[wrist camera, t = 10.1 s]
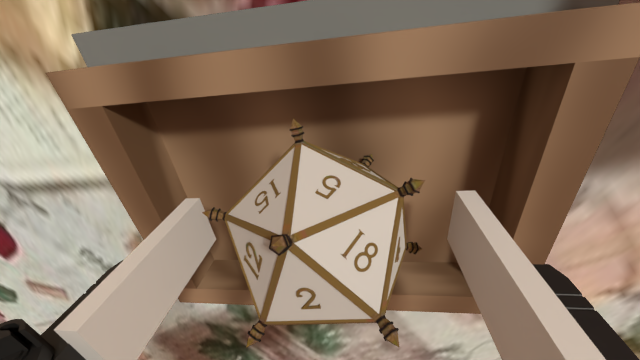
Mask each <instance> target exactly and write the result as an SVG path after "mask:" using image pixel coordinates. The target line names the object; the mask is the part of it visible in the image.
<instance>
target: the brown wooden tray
mask: <svg viewBox="0 0 640 360" xmlns="http://www.w3.org/2000/svg"><path fill="white" fill-rule="evenodd" d="M639 58H640V2H638V3H629V4H619V5H609V6H600V7H590V8H581V9H572V10H564V11H556V12H547V13H539V14H530V15H522V16H513V17H505V18H497V19H488V20H480V21H471V22H463V23H454V24H446V25H438V26H429V27H421V28H412V29H404V30H395V31H387V32H379V33H370V34H362V35H353V36H345V37H336V38H328V39H320V40H311V41H303V42H294V43H286V44H278V45H269V46H261V47H252V48H244V49H235V50H227V51H219V52H210V53H202V54H193V55H185V56H176V57H168V58H160V59H151V60H143V61H134V62H126V63H117V64H109V65H101V66H94V67H86V68H79V69H71V70H64V71H56V72H48V73H46V75H47V76H48V78H49V80H50V81H51V83H52V85H53V87H54V88H55V90H56V92H57V93H58V95H59V97H60V98H61V100H62V102H63V104H64V105H65V107H66V109H67V110H68V112H69V114H70V115H71V117H72V119H73V121H74V122H75V124H76V126H77V127H78V129H79V131H80V132H81V134H82V136H83V138H84V139H85V141H86V143H87V144H88V146H89V148H90V149H91V151H92V153H93V155H94V156H95V158H96V160H97V161H98V163H99V165H100V166H101V168H102V170H103V172H104V173H105V175H106V177H107V178H108V180H109V182H110V183H111V185H112V187H113V189H114V190H115V192H116V194H117V195H118V197H119V199H120V200H121V202H122V204H123V206H124V207H125V209H126V211H127V212H128V214H129V216H130V217H131V219H132V221H133V223H134V224H135V226H136V228H137V229H138V231H139V233H140V234H141V236H142V238H143V240H145V239H146V238H147V237H148V236H149V235H150V234H151V233H152V232H153V231H154V230H155V229H156V228H157V227H158V226H159V225H160V224H161V223H162V222H163V221H164V220H165V219H166V218H167V217H168V216H169V215H170V214H171V213H172V212H173V211H174V210H175V209H176V208H177V207H178V206H179V205H180V204H181V203H182V202H183V201H184V200H185V199H186V198H200V200H201V203H202V205H203V208H204V210H205V211H207V210H210V209H212V208H213V207H215V209H219V208H220V209H221V210H222V211H224V212H227V211H228V210H229V209H230V208H231V207H232V206H233V205H234V204H235V203H236V202H237V201H238V200H239V199H240V198H241V197H242V196H243V195H244V194H245V193H246V192H247V191H248V190H249V189H250V188H251V187H252V186H253V185H254V184H255V183H256V182H257V181H258V180H259V179H260V178H261V177H262V176H263V175H264V174H265V173H266V172H267V171H268V170H269V168H270V167H271V166H272V165H273V164H274V163H275V162H276V161H277V160H278V159H279V158H280V157H281V156H282V155H283V154H284V153H285V152H286V151H287V150H288V149H289V148H290V147H291V146H292V145H293V144H294V143H295V140H294V138H293V137H292V136H291V135H292V133H291V131H290V130H289V129H291V125H292V121H293V118H294V119H295V120H296V121H297V122H298V123H299V124H300V125H301V126H303V128H302V130H303V132H304V134H303V140H304V141H306V142H308V143H311V144H313V145H316V146H318V147H321V148H323V149H326V150H329V151H331V152H334V153H336V154H339V155H341V156H344V157H346V158H349V159H351V160H354V161H357V162H359V163H362V159H364V156H367V155H370V154H372V156H373V160H374V161H373V162H372V164H371V165H370V166H369V168H370V169H372V170H373V171H375V172H376V173H378V174H379V175H381V176H382V177H384V178H385V179H387V180H388V181H389V182H391V183H392V184H394V185H395V186H397V187H398V188H399V187H402V186H403V184H404V182H405V181H406V182H408V181H409V180H410V178H412V179H418V180H425V182H424V183H423V185H422V187H421V189H420V193H414V194H413V196H411V195H406V196H404V209H405V226H406V243H408V242H413V243H415V242H417V244H418V245H419V246H420V247H421V248H422V250H420V251H418V252H417V253H416V254H414V253H409V252H408V251H407V250H406V251H405V254H404V257H403V260H402V263H401V267H400V270H399V273H398V276H397V279H396V282H395V285H394V288H393V291H392V294H391V297H390V300H389V303H388V306H387V310H396V311H422V312H448V313H474V314H481V312H480V310H479V308H478V306H477V303H476V301H475V299H474V297H473V295H472V292H471V290H470V288H469V286H468V284H467V281H466V279H465V277H464V275H463V273H462V271H461V268H460V266H459V264H458V262H457V260H456V257H455V255H454V253H453V251H452V249H451V246H450V244H449V242H448V240H447V237H448V232H449V226H450V221H451V216H452V210H453V205H454V199H455V194H456V191H476V192H477V194H478V195H479V196H480V197H481V199H482V200H483V201H484V203H485V204H486V205H487V207H488V208H489V209H490V210H491V212H492V213H493V214H494V216H495V217H496V218H497V219H498V221H499V222H500V223H501V225H502V226H503V227H504V229H505V230H506V231H507V232H508V234H509V235H510V236H511V238H512V239H513V240H514V241H515V243H516V244H517V245H518V247H519V248H520V249H521V251H522V252H523V253H524V254H525V256H526V257H527V258H528V260H529V261H530V262H531V263H532V264H545V262H546V259H547V257H548V255H549V253H550V251H551V249H552V246H553V244H554V242H555V240H556V238H557V236H558V233H559V231H560V229H561V227H562V225H563V223H564V220H565V218H566V216H567V214H568V212H569V210H570V207H571V205H572V203H573V201H574V199H575V197H576V194H577V192H578V190H579V188H580V186H581V184H582V181H583V179H584V177H585V175H586V173H587V171H588V168H589V166H590V164H591V162H592V160H593V158H594V155H595V153H596V151H597V149H598V147H599V145H600V142H601V140H602V138H603V136H604V134H605V131H606V129H607V127H608V125H609V123H610V121H611V118H612V116H613V114H614V112H615V110H616V108H617V105H618V103H619V101H620V99H621V97H622V95H623V92H624V90H625V88H626V86H627V84H628V82H629V79H630V77H631V75H632V73H633V71H634V69H635V66H636V64H637V62H638V60H639ZM207 218H208V217H207ZM208 220H209V218H208ZM209 223H210V225H211V228H212V230H213V232H214V235H215V237H216V241H215V242H214V244H213V245H212V247H211V248H210V250H209V251H208V253H207V254H206V256H205V257H204V259H203V260H202V262H201V263H200V265H199V266H198V268H197V269H196V271H195V272H194V274H193V276H192V277H191V279H190V280H189V282H188V283H187V285H186V286H185V288H184V289H183V291H182V292H181V294H180V295H179V297H178V299H179V301H180V302H190V303H215V304H241V305H254V303H253V300H252V297H251V294H250V291H249V288H248V285H247V283H246V280H245V277H244V274H243V271H242V268H241V265H240V263H239V260H238V257H237V254H236V251H235V248H234V245H233V243H232V240H231V237H230V234H229V231H228V228H227V226H226V223H225V221H224V220H218V222H217V221H216V220H212V221H210V220H209Z"/></svg>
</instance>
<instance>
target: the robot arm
mask: <svg viewBox="0 0 640 360" xmlns="http://www.w3.org/2000/svg"><path fill="white" fill-rule="evenodd" d="M204 211H205V210H204V208H203V205H202V203H201V200H200V198H186V199H185V200H184V201H183V202H182V203H181V204H180V205H179V206H178V207H177V208H176V209H175V210H174V211H173V212H172V213H171V214H170V215H169V216H168V217H167V218H166V219H165V220H164V221H163V222H162V223H161V224H160V225H159V226H158V227H157V228H156V229H155V230H154V231H153V232H152V233H151V234H150V235H149V236H148V237H147V238H146V239H145V240H144V241H143V242H142V243H141V244H140V245H139V246H138V247H137V248H136V249H134V250H133V251H132V252H131V253H130V254H129V255H128V256H127V257H126V258H125V259H124V260H122V261H121V262H119V263H118V264H116V265H115V266H113V267H112V268H110V269H109V270H108V271H107V272H106V273H105V274H103V275H102V276H101V277H100V278H99V279H98V280H97V281H96V284H93V285H92V286H91V287H90V288H89V289H88V290H87V291H86V294H83V295H82V296H81V297H80V298H79V299H78V300H77V301H76V302H75V303H74V304H73V305H72V306H71V307H70V308H69V309H67V310H66V311H65V312H64V313H63V314H62V315H61V316H60V317H59V318H58V319H57V320H56V321H55V322H54V323H53V324H52V325H51V326H50V327H49V328H48V329H47V330H46V331H45V332H44V333H42V334H41V335H39V334H38V333H37V332H36V331H35V330H34V329H33V328H31V327H30V326H29V325H28V324H27V323H26V322H25V321H24V320H22V319H14V320H10V321H7V322H4V323H2V324H0V360H137V359H138V357H139V356H140V354H141V353H142V351H143V350H144V348H145V347H146V345H147V344H148V342H149V341H150V339H151V338H152V336H153V335H154V333H155V332H156V330H157V329H158V327H159V326H160V324H161V323H162V321H163V320H164V318H165V317H166V315H167V313H168V312H169V310H170V309H171V307H172V306H173V304H174V303H175V301H176V300H177V298H178V297H179V295H180V294H181V292H182V291H183V289H184V288H185V286H186V285H187V283H188V282H189V280H190V279H191V277H192V276H193V274H194V272H195V271H196V269H197V268H198V266H199V265H200V263H201V262H202V260H203V259H204V257H205V256H206V254H207V253H208V251H209V250H210V248H211V247H212V245H213V244H214V242H215V241H216V237H215V235H214V232H213V230H212V228H211V225H210V223H209V220H208V218H207V216H205V215H204V214H203V213H202V212H204ZM447 240H448V242H449V244H450V246H451V249H452V251H453V253H454V255H455V257H456V260H457V262H458V264H459V266H460V268H461V271H462V273H463V275H464V277H465V279H466V281H467V284H468V286H469V288H470V290H471V292H472V295H473V297H474V299H475V301H476V303H477V306H478V308H479V310H480V312H481V314H482V317H483V319H484V321H485V323H486V325H487V328H488V330H489V332H490V334H491V336H492V339H493V341H494V343H495V345H496V347H497V349H498V352H499V354H500V356H501V358H502V360H639V359H638V357H637V356H636V355H635V354H634V353H633V352H632V351H631V349H630V348H629V347H628V346H627V345H626V344H625V343H624V341H623V340H622V339H621V338H620V337H619V336H618V335H617V333H616V332H615V331H614V330H613V329H612V328H611V327H610V325H609V324H608V323H607V322H606V321H605V320H604V319H603V317H602V316H601V315H600V314H599V313H598V312H597V311H595V310H594V307H593V306H592V305H591V304H590V303H589V301H588V300H587V299H586V298H585V297H582V293H581V292H580V291H579V290H578V289H577V288H576V287H575V285H574V284H573V283H572V282H571V281H570V280H569V279H568V278H567V277H566V276H565V275H563V274H562V273H560V272H559V271H557V270H556V269H555V268H553V267H552V266H550V265H549V264H532V263H531V262H530V261H529V260H528V258H527V257H526V256H525V254H524V253H523V252H522V251H521V249H520V248H519V247H518V245H517V244H516V243H515V241H514V240H513V239H512V238H511V236H510V235H509V234H508V232H507V231H506V230H505V229H504V227H503V226H502V225H501V223H500V222H499V221H498V219H497V218H496V217H495V216H494V214H493V213H492V212H491V210H490V209H489V208H488V207H487V205H486V204H485V203H484V201H483V200H482V199H481V197H480V196H479V195H478V194H477V192H476V191H456V194H455V199H454V205H453V210H452V216H451V221H450V226H449V232H448V237H447Z"/></svg>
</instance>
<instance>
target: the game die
mask: <svg viewBox="0 0 640 360" xmlns="http://www.w3.org/2000/svg"><path fill="white" fill-rule="evenodd" d="M302 128H303V126H301V125H300V124H299V123H298V122H297V121H296V120H295V119H294V118H293V121H292V125H291V129H289V130H290V131H291V133H292V135H291V136H292V137H293V138H294V140H295V143H294V144H293V145H292V146H291V147H290V148H289V149H288V150H287V151H286V152H285V153H284V154H283V155H282V156H281V157H280V158H279V159H278V160H277V161H276V162H275V163H274V164H273V165H272V166H271V167H270V168H269V170H268V171H267V172H266V173H265V174H264V175H263V176H262V177H261V178H260V179H259V180H258V181H257V182H256V183H255V184H254V185H253V186H252V187H251V188H250V189H249V190H248V191H247V192H246V193H245V194H244V195H243V196H242V197H241V198H240V199H239V200H238V201H237V202H236V203H235V204H234V205H233V206H232V207H231V208H230V209H229V210H228V211H227V212H224V211H222V210H221V209H220V208H219V209H215V207H213V208H212V209H210V210H207V211H204V212H202V213H203V214H204V215H205V216H207V217H208V218H209V220H210V221H212V220H216V221H217V222H218V220H224V221H225V223H226V226H227V228H228V231H229V234H230V237H231V240H232V243H233V245H234V248H235V251H236V254H237V257H238V260H239V263H240V265H241V268H242V271H243V274H244V277H245V280H246V283H247V285H248V288H249V291H250V294H251V297H252V300H253V303H254V305H255V308H256V311H257V314H258V317H259V322H258V323H256V324H255V325H253V326H252V329H251V331H248V335H249V336H248V342H247V347H249V346H250V345H252V344H254V343H256V342H258V341H259V342H260V341H261V340H260V338H261V337H262V335H264V334H265V333H264V330H265V327H266V326H267V325H297V324H337V323H377V324H378V325H379V328H380V330H379V331H380V333H381V334H383V335H384V337H383V338H384V339H385V341H386V340H387V341H389V342H391V343H392V344H394V345H396V346H398V347H399V341H398V333H397V331H398V330H399V329H398V328H395V327H394V326H393V322H390V321H389V320H387V319H386V317H385V313H386V310H387V306H388V303H389V300H390V297H391V294H392V291H393V288H394V285H395V282H396V279H397V276H398V273H399V270H400V267H401V263H402V260H403V257H404V254H405V251H406V250H407V251H408V252H409V253H414V254H416V253H417V252H418V251H420V250H422V248H421V247H420V246H419V245H418V244H417V242H415V243H413V242H408V243H406V226H405V209H404V196H406V195H411V196H413V194H414V193H420V189H421V187H422V185H423V183H424V182H425V180H418V179H412V178H410V180H409V181H408V182H406V181H405V182H404V184H403V186H402V187H399V188H398V187H397V186H395V185H394V184H392V183H391V182H389V181H388V180H387V179H385V178H384V177H382V176H381V175H379V174H378V173H376V172H375V171H373V170H372V169H370V168H369V166H370V165H371V164H372V162H373V161H374V160H373V156H372V154H370V155H367V156H364V159H362V163H359V162H357V161H354V160H351V159H349V158H346V157H344V156H341V155H339V154H336V153H334V152H331V151H329V150H326V149H323V148H321V147H318V146H316V145H313V144H311V143H308V142H306V141H304V140H303V134H304V132H303V130H302Z"/></svg>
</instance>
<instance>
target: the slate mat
mask: <svg viewBox="0 0 640 360" xmlns="http://www.w3.org/2000/svg"><path fill="white" fill-rule="evenodd" d="M619 1H620V0H308V1H301V2H294V3H287V4H280V5H273V6H266V7H259V8H252V9H245V10H238V11H231V12H224V13H217V14H210V15H203V16H196V17H189V18H182V19H175V20H168V21H161V22H154V23H147V24H140V25H133V26H126V27H119V28H112V29H105V30H98V31H91V32H84V33H77V34H71V35H72V37H73V39H74V41H75V43H76V45H77V47H78V49H79V51H80V53H81V55H82V57H83V59H84V61H85V63H86V65H87V67H94V66H101V65H109V64H117V63H126V62H134V61H143V60H151V59H160V58H168V57H176V56H185V55H193V54H202V53H210V52H219V51H227V50H235V49H244V48H252V47H261V46H269V45H278V44H286V43H294V42H303V41H311V40H320V39H328V38H336V37H345V36H353V35H362V34H370V33H379V32H387V31H395V30H404V29H412V28H421V27H429V26H438V25H446V24H454V23H463V22H471V21H480V20H488V19H497V18H505V17H513V16H522V15H530V14H539V13H547V12H556V11H564V10H572V9H581V8H590V7H600V6H609V5H618V4H619Z"/></svg>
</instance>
